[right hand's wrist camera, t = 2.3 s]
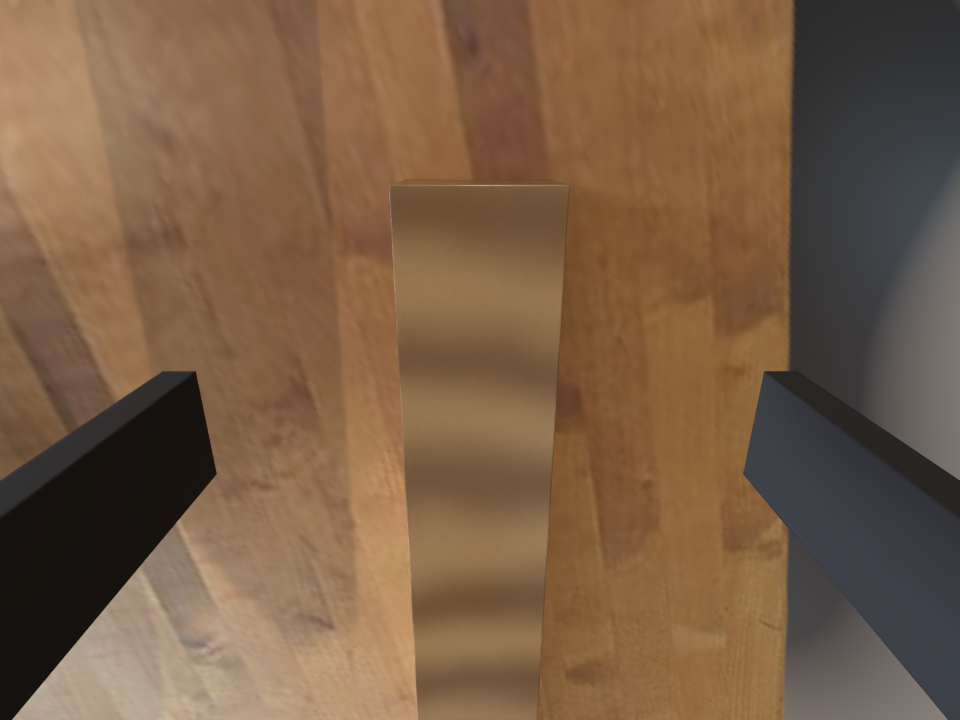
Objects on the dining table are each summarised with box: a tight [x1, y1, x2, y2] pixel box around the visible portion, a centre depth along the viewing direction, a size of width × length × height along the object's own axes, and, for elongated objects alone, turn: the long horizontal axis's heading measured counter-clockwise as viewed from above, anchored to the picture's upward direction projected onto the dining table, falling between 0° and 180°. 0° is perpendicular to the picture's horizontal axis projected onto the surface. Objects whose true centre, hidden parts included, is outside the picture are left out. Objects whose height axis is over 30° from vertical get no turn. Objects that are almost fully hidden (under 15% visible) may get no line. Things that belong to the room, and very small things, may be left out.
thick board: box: [389, 180, 569, 720], centre depth 42 cm, size 57×10×7 cm, turn 0°
